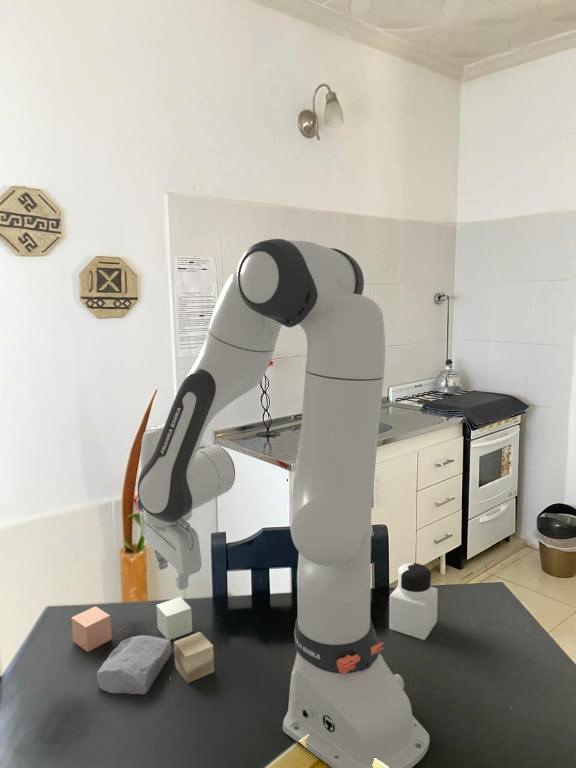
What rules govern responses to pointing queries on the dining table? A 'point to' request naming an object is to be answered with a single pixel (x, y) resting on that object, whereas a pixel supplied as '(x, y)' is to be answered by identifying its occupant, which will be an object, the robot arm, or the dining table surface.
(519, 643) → the dining table surface
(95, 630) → the terracotta cube
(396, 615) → the medicine bottle
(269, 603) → the dining table surface
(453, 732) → the dining table surface
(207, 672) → the birch cube
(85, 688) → the dining table surface
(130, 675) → the stone block
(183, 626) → the sage cube
